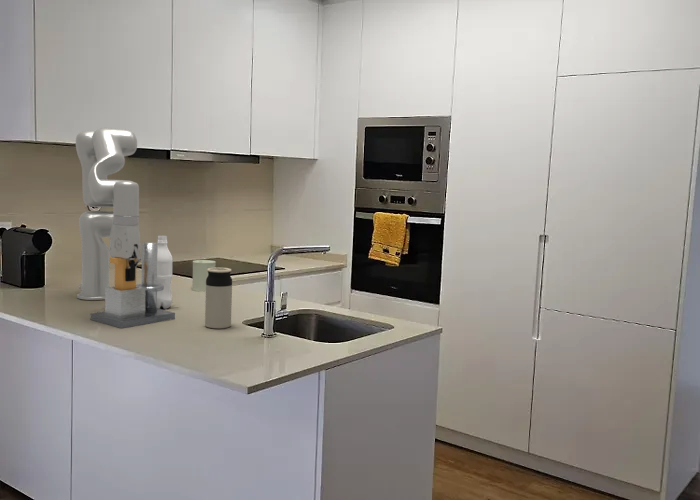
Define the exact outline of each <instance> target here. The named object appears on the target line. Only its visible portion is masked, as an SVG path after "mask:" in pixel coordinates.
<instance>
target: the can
mask: <svg viewBox="0 0 700 500" xmlns="http://www.w3.org/2000/svg"><path fill="white" fill-rule="evenodd" d="M216 263H217V261H215V260H209V259H196V260H195V259H194V260H192V286H191V290H192V291H193V290H194V291H195V292H199V291H206V279H207V277H208V271H207V269H208V268H216V265H217V264H216Z"/></svg>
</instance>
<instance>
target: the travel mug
mask: <svg viewBox="0 0 700 500" xmlns="http://www.w3.org/2000/svg"><path fill="white" fill-rule="evenodd" d="M207 271H208V277H207V279H206V292H205V304H204V305H205V309H204V310H205V311H204V312H205V313H204V315H205V316H204V318H205V319H204V325H205V327H207V328H208V329H214V330H218V329H219V330H221V329H227V328H230V327H231V326H232V300H233V299H232V298H233V295H232V294H233V278H232V276H231V272H232V268H230V267H229V268H228V267H215V268H208V269H207Z"/></svg>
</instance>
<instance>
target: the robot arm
mask: <svg viewBox="0 0 700 500" xmlns="http://www.w3.org/2000/svg"><path fill="white" fill-rule="evenodd" d="M137 149H138V139H137V137H136V134H135V132H133V131H132V130H131V129H126V128H125V129H123V128H112V127H111V128H110V127H108V128H107V127H104V128H102V127H101V128H99V129H98V128H97V129H96V130H83V131H81V132H79V133H78V134H76V138H75V150H76V153H77V157H78V159H79V162H80V165H81V172H82V173H81V174H82V175H81V176H82V182H81V183H82V184H81V185H82V199H83V200H82V201H83V203H84V204H85V205H86V206H87V207H90V208H91V207H95V208H113V209H112V210H89V211H84V212H82V213H81V214H80V216H79V218H78V226H79V227H78V228H79V235H80V240H81V241H80V243H81V245H80V247H81V284H80V285H78V289H79V290H80V292H79V293H77V294H76V298H77V299H79V300H85V301H103V300H104V301H105V288H106V287H110V258H115V257H116V258H122V259H126V264H127V268H126V269H125V281H135V268H136V269H137V266H138V263H141V262H142V256H141V252H142V243H141V233H140V227H139V226H140V223H139V222H140V221H139V220H140V217H139V216H140V186H139V184H138V183H137V182H134V181H132V180H126V179H125V180H124V179H123V180H122V179H108V176H111V175H113V174H116V173H118V172H119V171H121V170H122V169H124V166H125V163H126V158H125V157H128V156H132V155H134V154H135V153H136V151H137ZM104 238H109V239H110V240H109V246H108V244H107V243H106V241H104V240H103V239H104ZM129 257H132V258H129ZM130 260H132V261H131V263H130ZM140 261H141V262H140Z"/></svg>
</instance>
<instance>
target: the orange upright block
mask: <svg viewBox="0 0 700 500" xmlns="http://www.w3.org/2000/svg"><path fill="white" fill-rule="evenodd" d="M129 258H132V257H129ZM131 261H132V260H130V263H131ZM139 263H142V260H141V261H140V262H139ZM109 264H114V286H115V289H119V290H126V289H134V288H136V285H137V267H136V268H135V281H125V269H126V268H127V264H126V259H122V258H116V257H115V258H112V257H109Z"/></svg>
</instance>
